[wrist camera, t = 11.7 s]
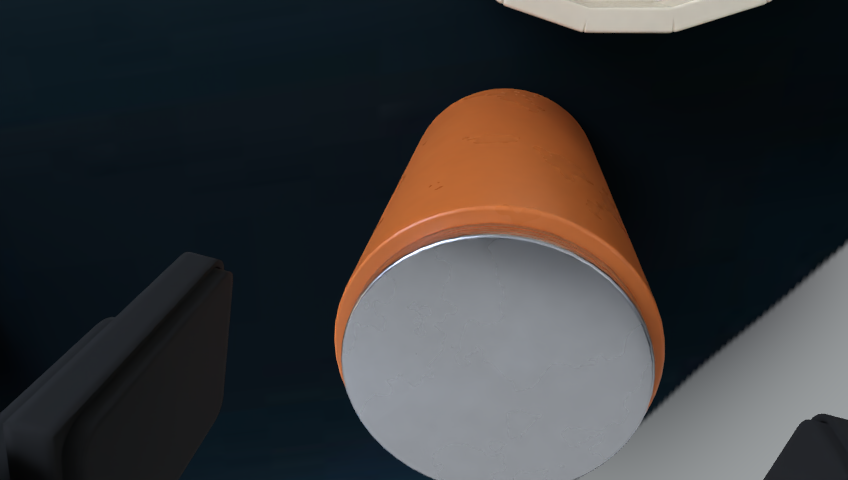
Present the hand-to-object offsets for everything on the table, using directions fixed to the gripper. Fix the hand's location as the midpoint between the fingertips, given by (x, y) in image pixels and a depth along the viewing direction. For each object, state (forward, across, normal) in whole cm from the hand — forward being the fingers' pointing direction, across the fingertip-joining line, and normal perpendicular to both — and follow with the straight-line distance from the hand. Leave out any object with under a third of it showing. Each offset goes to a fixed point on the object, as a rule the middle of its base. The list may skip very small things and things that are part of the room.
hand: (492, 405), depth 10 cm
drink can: (+14, 0, +1) cm, 14 cm away
